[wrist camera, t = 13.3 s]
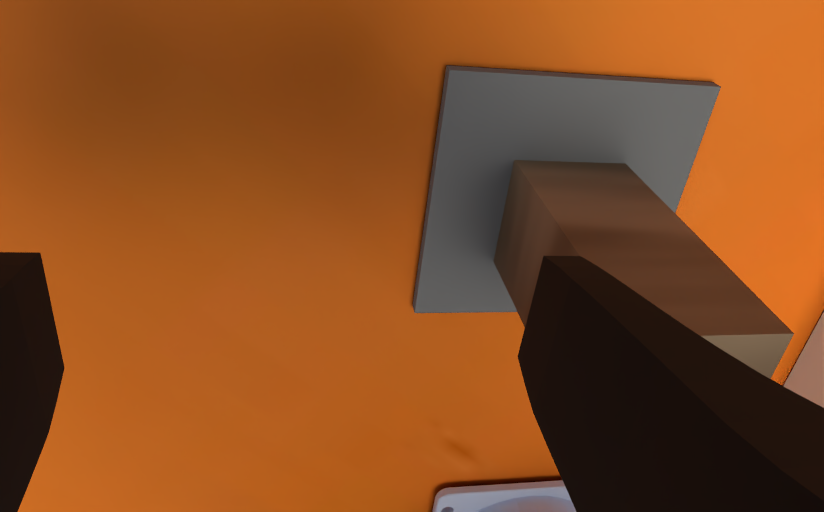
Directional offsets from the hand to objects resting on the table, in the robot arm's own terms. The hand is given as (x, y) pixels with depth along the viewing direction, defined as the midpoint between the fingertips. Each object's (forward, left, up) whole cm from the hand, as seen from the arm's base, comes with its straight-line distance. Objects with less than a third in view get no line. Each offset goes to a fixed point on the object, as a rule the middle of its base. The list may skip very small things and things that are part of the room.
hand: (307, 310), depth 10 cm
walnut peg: (-3, -8, -9) cm, 12 cm away
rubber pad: (-3, -8, -9) cm, 13 cm away
